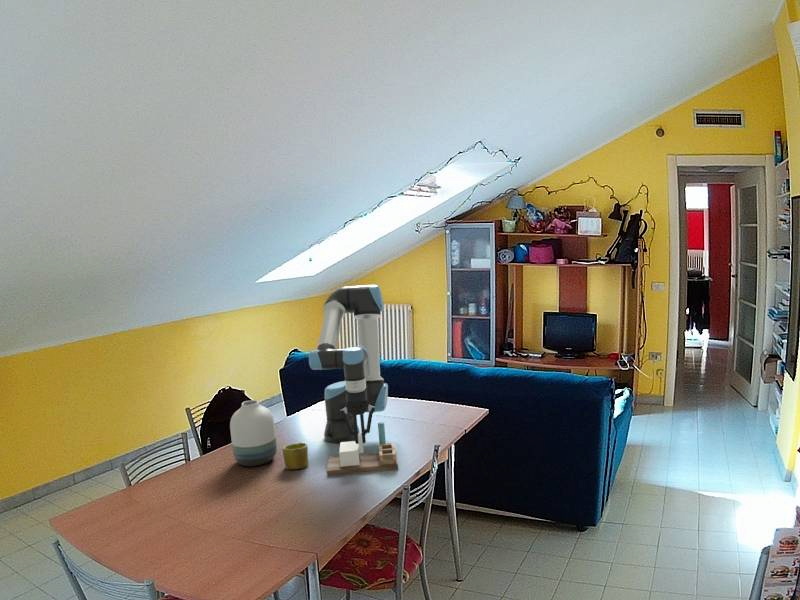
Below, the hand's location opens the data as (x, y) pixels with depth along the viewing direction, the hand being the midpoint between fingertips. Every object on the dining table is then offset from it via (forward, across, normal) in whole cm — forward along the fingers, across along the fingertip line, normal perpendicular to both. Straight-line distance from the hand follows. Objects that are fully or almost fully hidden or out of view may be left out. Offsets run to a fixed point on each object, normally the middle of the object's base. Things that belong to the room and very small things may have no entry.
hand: (361, 451), depth 229 cm
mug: (+7, -25, +9) cm, 27 cm away
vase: (+7, -42, +17) cm, 46 cm away
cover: (+4, -4, +2) cm, 6 cm away
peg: (+6, +8, +13) cm, 16 cm away
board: (+6, 0, +2) cm, 7 cm away
